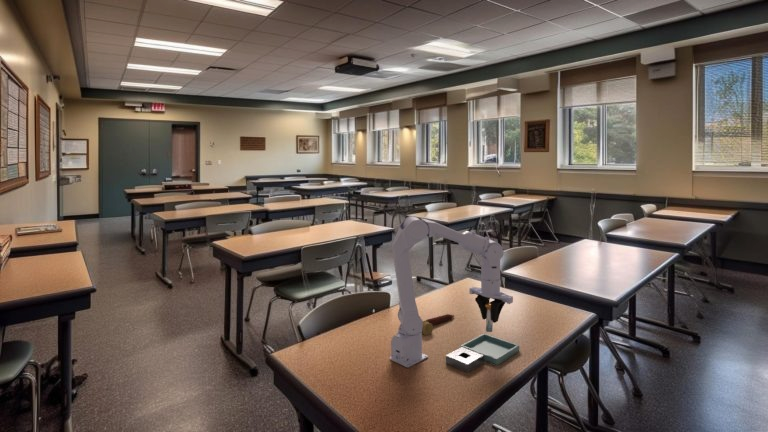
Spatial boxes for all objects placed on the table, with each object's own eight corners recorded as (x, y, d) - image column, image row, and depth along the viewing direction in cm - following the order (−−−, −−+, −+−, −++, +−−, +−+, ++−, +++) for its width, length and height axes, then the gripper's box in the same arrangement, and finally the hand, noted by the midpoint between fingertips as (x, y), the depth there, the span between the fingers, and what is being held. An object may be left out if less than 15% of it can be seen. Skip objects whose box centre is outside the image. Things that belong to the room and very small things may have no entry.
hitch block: (467, 372, 119) (467, 364, 119) (445, 363, 125) (445, 355, 124) (483, 363, 124) (483, 355, 124) (461, 354, 130) (461, 346, 130)
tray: (496, 365, 123) (496, 359, 122) (460, 351, 132) (460, 345, 132) (519, 351, 131) (519, 345, 131) (483, 338, 141) (483, 333, 141)
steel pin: (490, 333, 128) (491, 306, 127) (481, 330, 131) (482, 303, 130) (496, 331, 130) (497, 304, 130) (487, 328, 133) (488, 301, 132)
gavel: (444, 306, 165) (464, 313, 157) (444, 318, 165) (463, 325, 157) (405, 316, 152) (424, 324, 144) (404, 328, 152) (423, 337, 144)
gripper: (518, 280, 126) (517, 322, 128) (478, 271, 137) (478, 311, 138) (506, 285, 121) (505, 329, 123) (465, 276, 132) (465, 316, 134)
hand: (490, 320), depth 130 cm, fingers closed on steel pin, 3 cm apart
